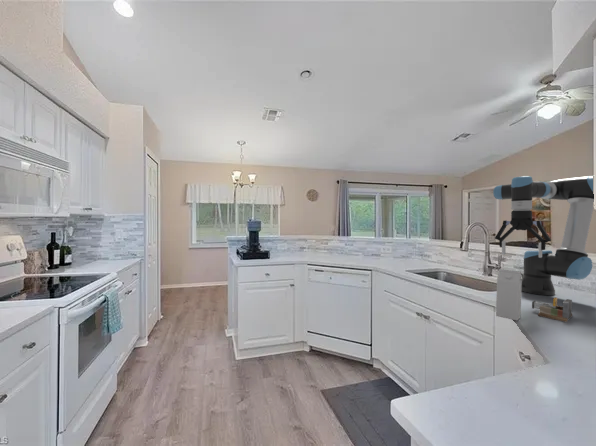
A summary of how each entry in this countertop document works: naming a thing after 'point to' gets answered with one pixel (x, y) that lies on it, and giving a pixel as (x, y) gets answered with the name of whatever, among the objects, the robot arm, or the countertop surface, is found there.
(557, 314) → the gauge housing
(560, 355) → the countertop surface
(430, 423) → the countertop surface
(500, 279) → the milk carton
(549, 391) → the countertop surface
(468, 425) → the countertop surface
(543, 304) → the plunger
